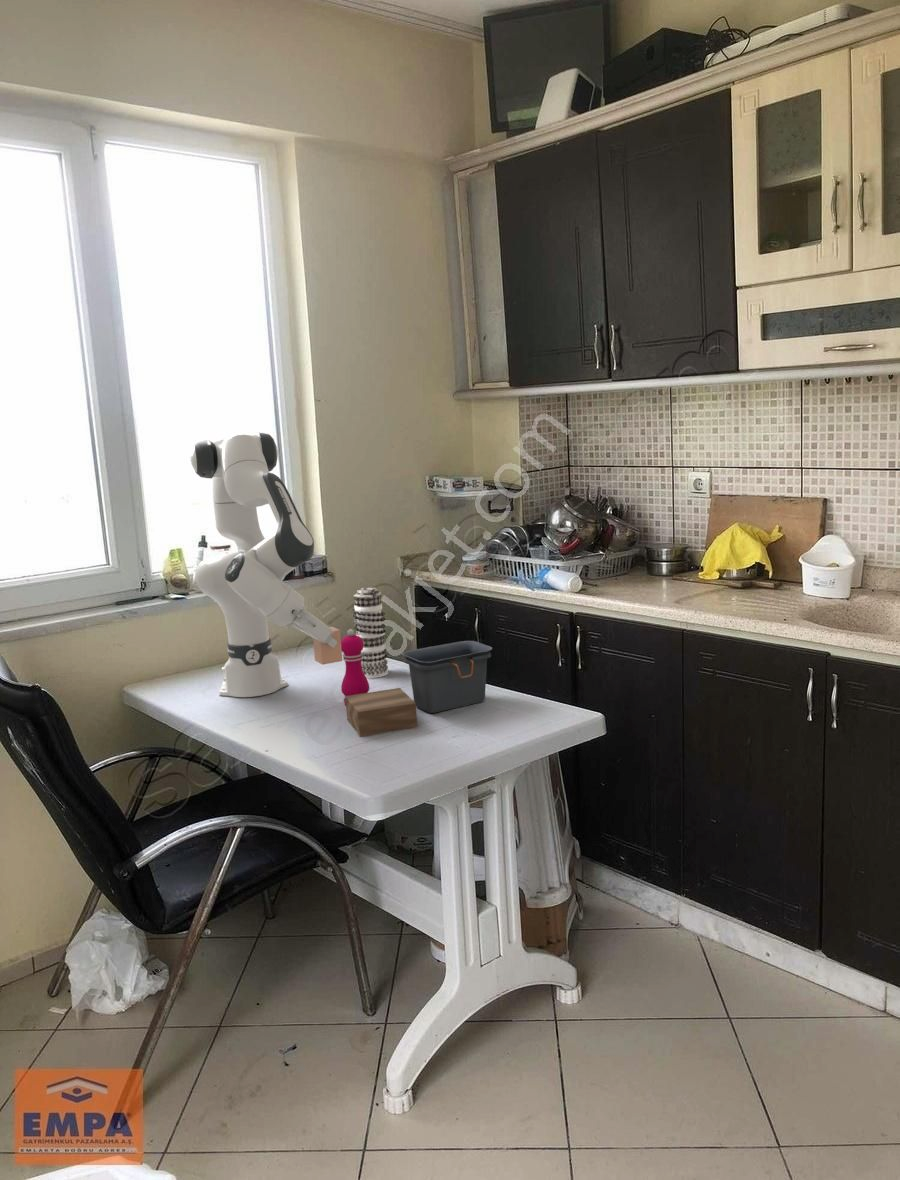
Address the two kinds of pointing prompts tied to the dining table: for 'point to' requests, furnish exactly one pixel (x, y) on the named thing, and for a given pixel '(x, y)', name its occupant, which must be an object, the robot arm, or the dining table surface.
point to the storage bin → (448, 675)
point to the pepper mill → (353, 666)
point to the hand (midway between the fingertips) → (329, 642)
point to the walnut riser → (381, 712)
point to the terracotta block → (328, 649)
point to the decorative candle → (370, 631)
